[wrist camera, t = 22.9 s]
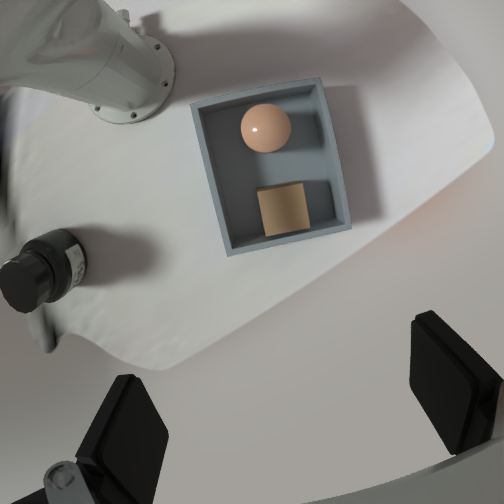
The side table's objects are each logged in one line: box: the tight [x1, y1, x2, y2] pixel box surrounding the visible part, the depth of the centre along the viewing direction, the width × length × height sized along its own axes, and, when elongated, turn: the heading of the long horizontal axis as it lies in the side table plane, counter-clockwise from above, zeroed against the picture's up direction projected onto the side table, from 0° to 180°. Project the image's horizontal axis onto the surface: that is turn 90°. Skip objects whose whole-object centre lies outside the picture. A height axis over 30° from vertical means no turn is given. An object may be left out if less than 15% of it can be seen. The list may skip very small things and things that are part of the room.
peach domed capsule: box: [241, 104, 291, 154], centre depth 34 cm, size 5×5×7 cm
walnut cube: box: [256, 181, 310, 236], centre depth 38 cm, size 5×5×5 cm
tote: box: [190, 78, 352, 257], centre depth 37 cm, size 17×14×6 cm
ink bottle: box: [0, 230, 87, 313], centre depth 37 cm, size 10×9×12 cm
